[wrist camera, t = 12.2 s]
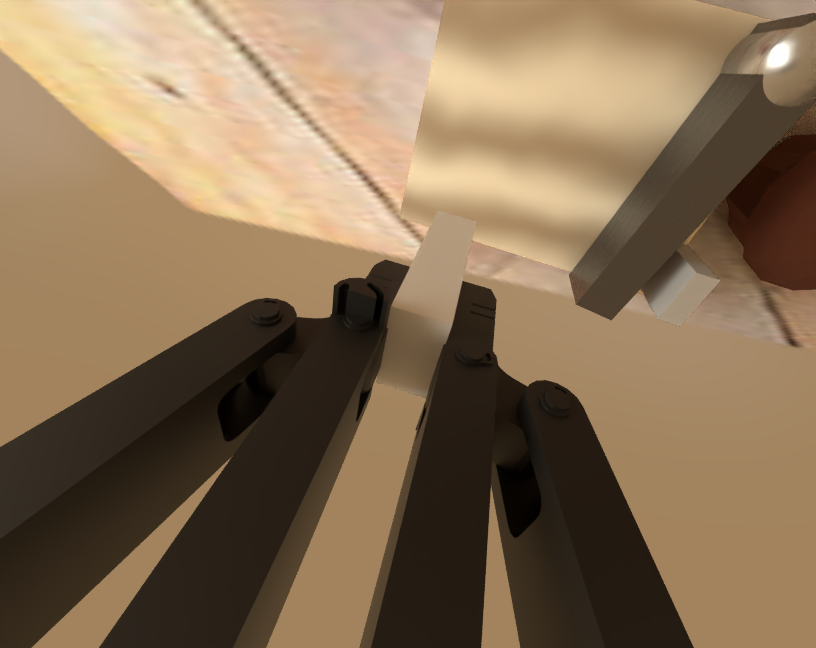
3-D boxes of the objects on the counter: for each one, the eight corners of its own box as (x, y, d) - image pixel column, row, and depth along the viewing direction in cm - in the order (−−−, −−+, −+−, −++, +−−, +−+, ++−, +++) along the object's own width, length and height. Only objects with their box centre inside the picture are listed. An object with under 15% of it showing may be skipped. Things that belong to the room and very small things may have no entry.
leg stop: (666, 238, 28) (696, 272, 24) (687, 244, 28) (720, 280, 23) (636, 280, 31) (657, 319, 26) (655, 286, 31) (679, 326, 26)
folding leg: (758, 14, 20) (815, 2, 16) (815, 40, 20) (885, 34, 16) (565, 273, 32) (572, 302, 28) (603, 290, 32) (614, 321, 28)
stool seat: (468, -38, 27) (457, -61, 22) (783, 44, 25) (845, 38, 20) (414, 198, 38) (399, 217, 33) (630, 266, 36) (647, 296, 31)
